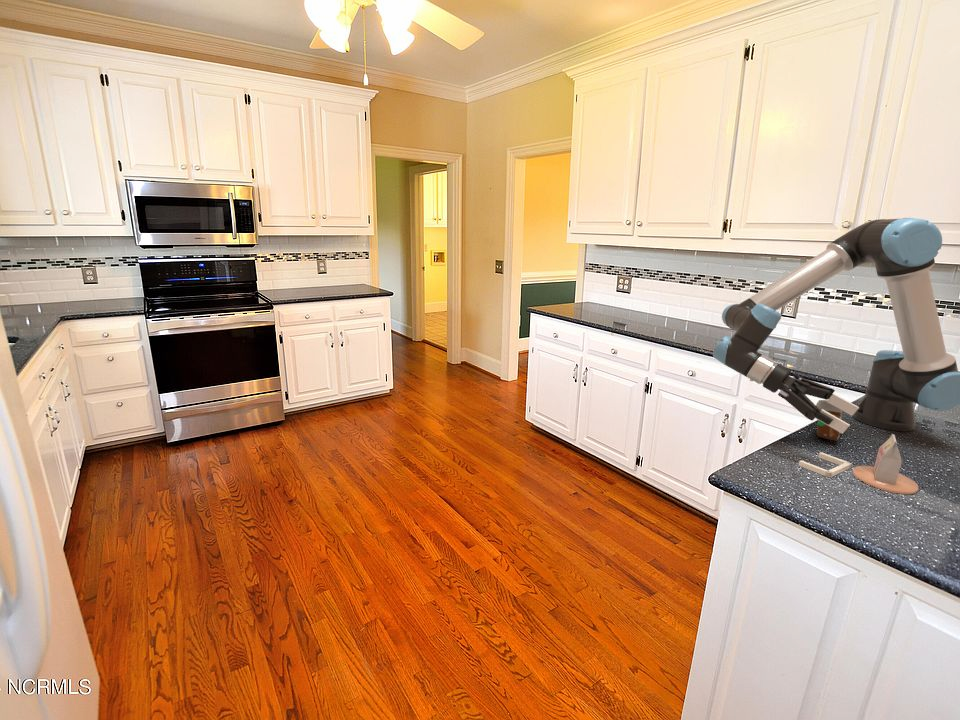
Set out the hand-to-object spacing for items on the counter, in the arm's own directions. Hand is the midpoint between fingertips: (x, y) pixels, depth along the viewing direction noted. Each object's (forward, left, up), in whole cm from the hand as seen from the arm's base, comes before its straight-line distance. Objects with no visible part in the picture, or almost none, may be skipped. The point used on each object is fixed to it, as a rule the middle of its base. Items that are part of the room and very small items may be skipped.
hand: (851, 420), depth 122 cm
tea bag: (+5, +11, -10) cm, 15 cm away
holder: (+10, 0, -10) cm, 15 cm away
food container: (-10, -8, -10) cm, 16 cm away
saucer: (+5, +11, -10) cm, 16 cm away
